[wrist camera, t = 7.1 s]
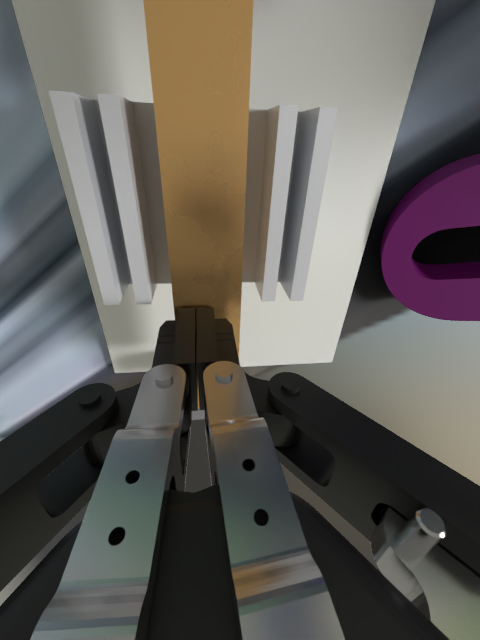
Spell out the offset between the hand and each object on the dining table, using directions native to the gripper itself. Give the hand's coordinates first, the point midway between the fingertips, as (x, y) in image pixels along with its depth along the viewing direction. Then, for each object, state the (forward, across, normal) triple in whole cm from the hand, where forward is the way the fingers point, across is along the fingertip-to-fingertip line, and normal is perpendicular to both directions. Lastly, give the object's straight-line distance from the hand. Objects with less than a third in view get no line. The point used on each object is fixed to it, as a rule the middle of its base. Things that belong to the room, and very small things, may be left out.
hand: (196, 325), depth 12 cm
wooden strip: (+1, -1, -4) cm, 4 cm away
